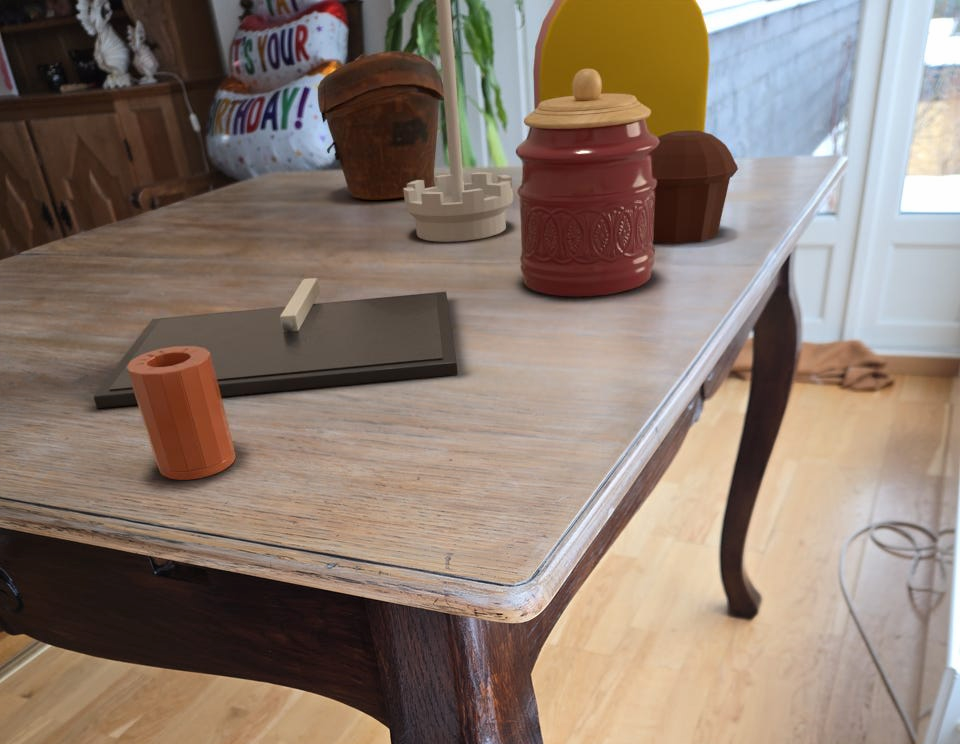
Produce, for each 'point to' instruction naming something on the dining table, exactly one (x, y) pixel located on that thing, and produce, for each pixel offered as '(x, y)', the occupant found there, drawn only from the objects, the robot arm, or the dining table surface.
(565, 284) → the kitchen canister
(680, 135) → the muffin
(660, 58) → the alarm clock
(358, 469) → the dining table surface
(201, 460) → the pen pot
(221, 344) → the tablet
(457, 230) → the flag stand
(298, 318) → the stylus
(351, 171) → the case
